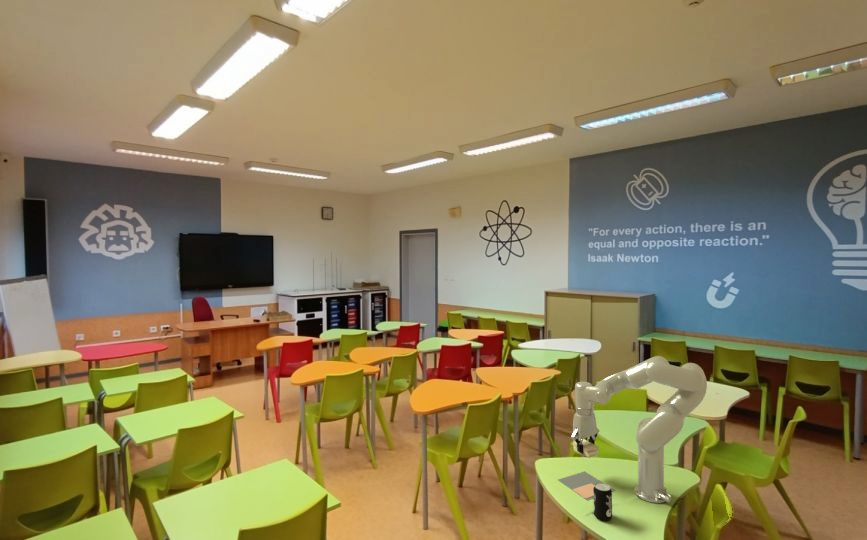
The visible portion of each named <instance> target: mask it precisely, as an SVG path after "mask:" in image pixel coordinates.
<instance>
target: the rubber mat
mask: <svg viewBox="0 0 867 540" xmlns="http://www.w3.org/2000/svg"><path fill="white" fill-rule="evenodd" d="M557 481H559V483H562V484H563V485H564V486H565V487H567V488H569V489H570V490H571V491H572V492H574V493H576V494H577V495H579V496H580V497H581V498H583V499H584V500H586V501H591V500H594V496H593V488H594V486H595V483H598V482H602V483H604V482H603V481H601V480H599V479H598V478H596V477H594V476H593V475H592V474H590V473H588V472H587V471H582V472H578V473H575V474H570V475H568V476H566V477H561V478H559V479H557ZM611 490H612V493H613V492H617V489H615V488H613V487H611Z"/></svg>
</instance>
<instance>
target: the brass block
mask: <svg viewBox="0 0 867 540" xmlns="http://www.w3.org/2000/svg"><path fill="white" fill-rule="evenodd" d="M579 441H580V439H579ZM572 444H573V445H572V446H573V451H576V452H577V453H579V454H580V455H583V456H584V457H586V458H587V459H588V458H592V457H596V456H600V454H599V453H600V451H599V446H598V445H597V444H595V445H594V444H592V443H590V442H588V439H587V440H586V438H583V442H582V444H583V454H582V453H580V452H578V451H577V443H576V442H575V441H574V440H573V443H572Z"/></svg>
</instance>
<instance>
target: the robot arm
mask: <svg viewBox="0 0 867 540" xmlns="http://www.w3.org/2000/svg"><path fill="white" fill-rule="evenodd" d="M654 382H655V383H657V384H660V385H663V386H666V387H671V388H674V389H677V390H676V391H675V393H674V394H673V395H671V396H670V397H668V398H667V400H665V401H664V402H663V403H662V404H661V405H660V406H659V407H658V408H657V410H656V414H655V416H654V417H645V418H643V419H642V420H640V421H639V423H638V426H637V430H636V434H635V439H636V443H637V450H638V451H637V452H638V453H637V454H638V455H637V468H638V469H637V471H638V472H637V475H638V476H637V478H638V479H637V484H636V486H634V490H633V492H634V493H635V495H637V497H638V498H639V499H642V500H643V501H645V502H648V503H653V504H663V503H665V502H667V503H670V502H671V501H672V499H673V495H671V494H670V493H668V492H667V487H665V446H666V445H667V444H668V443H670V442H671V441H672V440H673V439H674V438H675V437H677V435H678V434H680V433H681V431H682V429H683V427H684V423H685V422H684V421H685V419H686V417H688V416H689V415H690V414H691V413H692V412H693V411H695V409H696V408H697V407H699V405H700V404H701V403H702V401H704V398H705V396H706V393H707V388H708V382H707V376H706V375H705V372H704V369H702V367H701V366H699V364H697V363H693V362H687V363H685V364H682V366H676V365H673V364H670V363H669V360H667V359H666V358H665V357H664V356H661V355H655V356H653V357H650V358H648V359H645V360H644V361H641V362H639V363H638V364H635V365H634V366H630V367H629V368H627V369H624V370H622V371H619V372H616V373H614V374H612V375H610V376H609V375H608V376H607V377H606V378H603V379H602V380H600V381H598V382H597V383H596V384H595V385H593V384H592V383H590V382H588V381H577V382H575V385H574V391H575V392H574V393H575V396H574V397H575V401H574V402H575V413H574V415H573V420H572V421H573V422H572V433H571V437H570V438H571V439H572V440H573V442H574V441H575V442H576V443H577V451H578V452H577V451H576V452H577V453H579V452H580V453H579V454H581V453H582V454H583V444H582V442H583V439H586V438H588V439H587V441H588V442H590V443H592V444H594V445H596V444H595V442H596V440H597V437H598V434H599V433H600V429H599V428H598V427H597V426H598V425H597V420H596V415H595V406H594V403H595V404H600V405H605V404H607V403H609V401H610V400H611V397H612V396H613V395H614V394H615V395H616V394H617V393H619V392H621V391H624V390H627V389H628V390H629V389H633V390H638V389H640V388H642V387H644V386H647V385H649V384H651V383H654ZM579 440H580V441H579ZM582 454H581V455H582Z"/></svg>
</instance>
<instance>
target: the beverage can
mask: <svg viewBox="0 0 867 540" xmlns="http://www.w3.org/2000/svg"><path fill="white" fill-rule="evenodd" d="M602 482H603V481H601V482H598V483H595V486H594V488H593V496H594V499H593V515H594V517H595V518H596V519H598V521H602V522H608V521H609V522H610V520H612V519H613V492H612V490H611V488H612V487H611V485H609V484H608V483H606V482H603V483H602Z"/></svg>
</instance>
